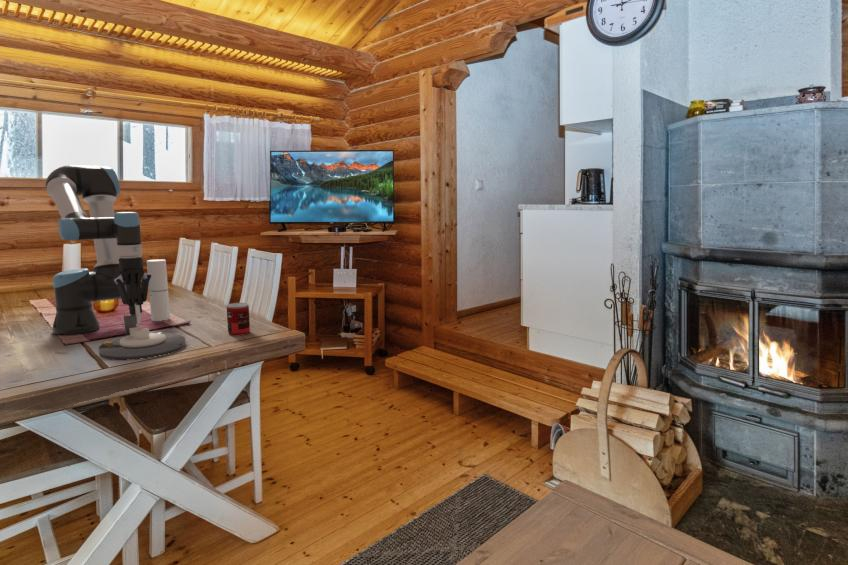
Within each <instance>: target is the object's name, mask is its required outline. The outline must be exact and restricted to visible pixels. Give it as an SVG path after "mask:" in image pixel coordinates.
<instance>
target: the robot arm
mask: <svg viewBox="0 0 848 565" xmlns="http://www.w3.org/2000/svg"><path fill="white" fill-rule="evenodd" d="M45 189H46V192H47V194H48V195H49V197H51V198H52V199H53V201H54V204H55V206H56V208H57V210H58V213H59V215H60V218H59V220H58V221H57V222H58V223H57V227H58V229H57V230H58V234H59V237H60V239H62V240H64V241H83V240H93V243H94V250H95V256H96V257H95V258H96V263H95V265H94V266H93V271H90V270H89V268H85V267H84V268H83V267H81V268H74V269H70V270H69V269H68V270H65V271H61V272H58V273H56V274H54V276H53V277H52V281H53V282H52V288H53V290H54V291H53V293H54V301H55V310H56V311H55V312H56V313H55V317H54V321H53V325H52V334H54V335H59V334H63V336H64V335H66V336H67V335H69V334H70V335H78V334H79V333H80V334H85V333H90V332H94V331H96V330H99V329H100V322H99V320H98V317H97V315H96V313H95V311H94V309H93V302H100V301H109V300H121V302H122V304H123V305H127V306H128V310H129V311H128V312H129V315H130V314H132V315H136V325H138V324H142V317H141V314H142V313H143V308H142V307H143V306H142V305H144V303H145V302H147V298H148V294H149V293H148V292H149V280H150V278H151V275H150V274H148V273H146V272H145V270H144V257H143V247H142V237H141V225H140V224H141V220H140V216H139V215H140V214H139V213H138V212H136V211H119V212H115V208H114V203H115V201H116V200H117V197H118V196H119V195H120V193H121V188H120V181H119V178H118V175H117V173H116V172H115V171H114V169H113V168H112V167H110V166H101V165H93V166H92V165H74V164H73V165H72V164H71V165H69V164H68V165H63V166H60V167H57V168H56V169H54V170H52V172H50V173H49V175H48V176H47V177H46V180H45ZM79 196H82V201H83V202H85V203H86V205H88V211H89V212H88V213H89V217H88V215H87V212H86V211H85V209H84V206H83V204H82V202H81V200H80V197H79ZM70 335H69V336H70Z"/></svg>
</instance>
